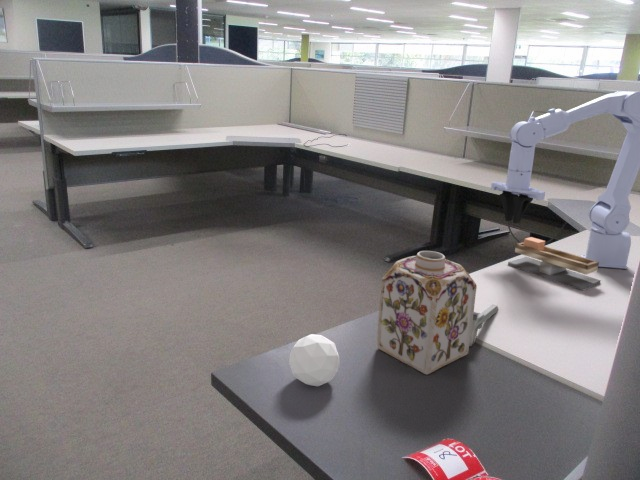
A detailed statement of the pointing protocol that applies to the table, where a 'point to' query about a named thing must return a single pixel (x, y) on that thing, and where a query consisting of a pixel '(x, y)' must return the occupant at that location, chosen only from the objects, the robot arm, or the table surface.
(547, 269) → the balance beam
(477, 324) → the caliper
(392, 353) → the decorative jar
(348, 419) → the table surface
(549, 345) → the table surface
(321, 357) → the ball
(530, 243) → the block
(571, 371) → the table surface
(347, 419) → the table surface
